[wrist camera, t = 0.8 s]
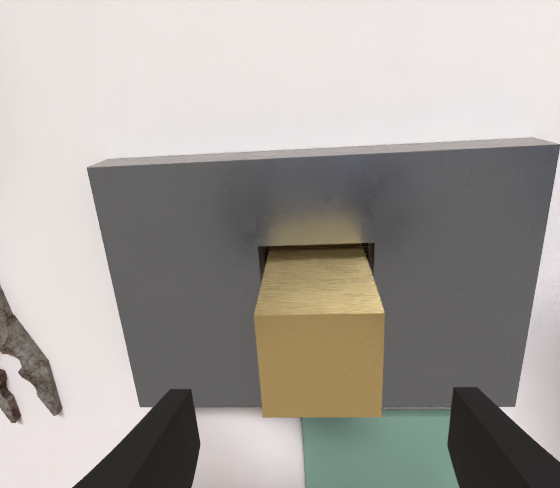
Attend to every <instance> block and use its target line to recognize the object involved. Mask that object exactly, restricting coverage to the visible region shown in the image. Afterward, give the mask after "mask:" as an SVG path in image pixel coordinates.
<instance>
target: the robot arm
mask: <svg viewBox="0 0 560 488" xmlns="http://www.w3.org/2000/svg"><path fill="white" fill-rule="evenodd" d="M447 447H448V450H449V454H450V458H451V461H452V465H453V468H454V472H455V475H456V479H457V482H458V485H459V488H560V462H559V461H558V460H557V459H555V458H554V457H553V456H552V455H551V454H549V453H548V452H547V451H546V450H545V449H544V448H543V447H541V446H540V445H539V444H538V443H537V442H536V441H535V440H533V439H532V438H531V437H530V436H529V435H528V434H527V433H526V432H525V431H523V430H522V429H521V428H520V427H519V426H518V425H517V424H516V423H515V422H514V421H513V420H512V419H510V418H509V417H508V416H507V415H506V414H505V413H504V412H503V411H502V410H501V409H500V408H499V407H498V406H497V405H496V404H495V403H493V402H492V401H491V400H490V399H489V398H488V397H487V396H486V395H485V394H484V393H483V392H482V391H481V390H480V389H479V388H477V387H453V395H452V405H451V414H450V424H449V433H448V443H447ZM199 449H200V439H199V433H198V427H197V421H196V415H195V409H194V402H193V396H192V390H191V389H170V390H169V391H168V392H167V393H166V394H165V395H164V396H163V397H162V398H161V399H160V400H159V401H158V403H157V404H156V405H155V406H154V407H153V408H152V409H151V410H150V411H149V412H148V413H147V415H146V416H145V417H144V418H143V419H142V420H141V421H140V422H139V423H138V424H137V425H136V426H135V427H134V429H133V430H132V431H131V432H130V433H129V434H128V435H127V436H126V437H125V438H124V439H123V440H122V441H121V442H120V443H119V444H118V445H117V446H116V447H115V448H114V449H113V450H112V451H111V452H110V453H109V454H108V455H107V456H106V457H105V458H104V459H103V460H102V461H101V462H100V463H99V464H98V465H97V466H96V467H94V468H93V469H92V470H91V471H90V472H89V473H88V474H87V475H86V476H85V477H84V478H83V479H82V480H80V481H79V482H78V483H77V484H76V485H75V486H74V487H72V488H191V486H192V483H193V479H194V474H195V470H196V465H197V460H198V455H199Z"/></svg>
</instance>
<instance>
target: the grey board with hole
mask: <svg viewBox="0 0 560 488" xmlns="http://www.w3.org/2000/svg"><path fill="white" fill-rule="evenodd" d="M559 150H560V144H557V143H553V142H549V141H545V140H541V139H537V138H516V139H496V140H476V141H456V142H437V143H417V144H397V145H377V146H358V147H338V148H318V149H298V150H279V151H259V152H239V153H219V154H200V155H180V156H160V157H140V158H121V159H108V160H105V161H103V162H100V163H97V164H95V165H92V166H90V167H87V171H88V176H89V180H90V185H91V189H92V194H93V198H94V203H95V207H96V212H97V216H98V221H99V225H100V230H101V234H102V239H103V243H104V248H105V252H106V257H107V261H108V266H109V270H110V275H111V279H112V284H113V288H114V293H115V297H116V302H117V306H118V311H119V315H120V320H121V324H122V329H123V333H124V338H125V342H126V347H127V351H128V356H129V360H130V365H131V369H132V374H133V378H134V383H135V387H136V392H137V396H138V401H139V405H140V407H154V406H155V405H156V404H157V403H158V401H159V400H160V399H161V398H162V397H163V396H164V395H165V394H166V393H167V392H168V391H169V390H170V389H191V390H192V396H193V402H194V407H262V399H261V388H260V377H259V367H258V356H257V345H256V334H255V323H254V313H255V308H256V304H257V300H258V296H259V291H260V287H261V283H262V279H263V274H264V270H265V253H264V246H284V245H315V244H346V243H368V263H369V266H370V269H371V273H372V276H373V279H374V282H375V285H376V288H377V291H378V294H379V297H380V300H381V303H382V306H383V309H384V312H385V326H384V356H383V387H382V407H451V405H452V395H453V387H477V388H479V389H480V390H481V391H482V392H483V393H484V394H485V395H486V396H487V397H488V398H489V399H490V400H491V401H492V402H493V403H495V404H496V405H497V406H498V407H515V404H516V398H517V392H518V387H519V381H520V375H521V369H522V363H523V358H524V352H525V346H526V340H527V335H528V329H529V323H530V317H531V311H532V306H533V300H534V294H535V288H536V283H537V277H538V271H539V265H540V259H541V254H542V248H543V242H544V236H545V231H546V225H547V219H548V213H549V207H550V202H551V196H552V190H553V184H554V179H555V173H556V167H557V161H558V155H559Z"/></svg>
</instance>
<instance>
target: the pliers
mask: <svg viewBox="0 0 560 488" xmlns="http://www.w3.org/2000/svg"><path fill="white" fill-rule="evenodd" d="M12 315H13V313H12V311H11V309H10V306H9V304H8V302H7V299H6V297H5V295H4V293H3V290H2V289H1V286H0V351H1V352H2V354H12V355H14V356H15V357H17V358H18V359H19V360H20V363H21V366H22V368H21V369H20V370H19V372H18V373H19V374H20V375H21V377H22V378H24V379H25V380H27V381H29V382H31V383H32V384H33V385H34V387H35V388H36V390H37V394H38V397H39V398H40V400H41V401H42V402H43V403H44V405H45V406H46V407H47V408H48V409H49V411H50V412H51V413H52V414H53V415H54V416H55V415H57V414H58V413H59V412H60V410H61V409H62V405H61V402H60V399H59V395H58V392H57V388H56V385H55V381H54V378H53V374H52V371H51V367H50V364H49V360H48V359H47V358H46V356H45V355H44V354H43V352H42V351H41V350H40V348H39V347H38V346H37V344H36V343H35V342H34V340H33V339H32V338H31V337H30V335H29V334H28V333H27V331H26V330H25V329H24V327H23V326H22V325H21V323H20V322H19V321H18V319H17V318H16V317H15V315H13V316H12ZM6 377H7V375H6V372H5V370H2V369H0V408H1V410H2V411H3V412H4V414H5V415H6V416H7V418H8V419H9V420H10V421H11V423H16V422H17V420H18V419H19V418H20V417H21V414H20V411H19V409H18V406H17V403H16V400H15V397H14V395H12V393H10V391H9V390H8V388H7V387H6V385H5V384H6V383H5V382H6V379H7V378H6Z"/></svg>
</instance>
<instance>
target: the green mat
mask: <svg viewBox="0 0 560 488" xmlns="http://www.w3.org/2000/svg"><path fill="white" fill-rule="evenodd" d="M450 414H451V410H382V417H302V423H303V443H304V462H305V481H306V488H459V485H458V482H457V479H456V475H455V472H454V468H453V465H452V461H451V458H450V454H449V450H448V447H447V443H448V433H449V424H450Z"/></svg>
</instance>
